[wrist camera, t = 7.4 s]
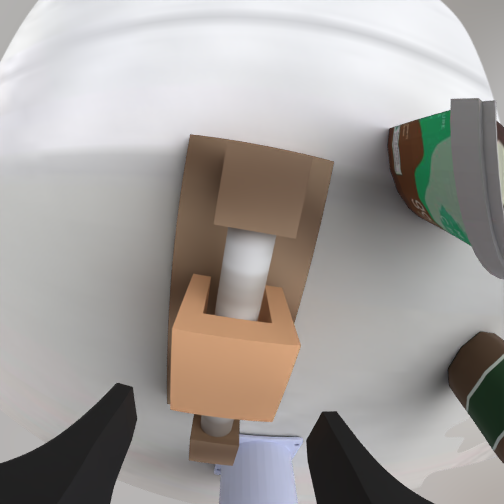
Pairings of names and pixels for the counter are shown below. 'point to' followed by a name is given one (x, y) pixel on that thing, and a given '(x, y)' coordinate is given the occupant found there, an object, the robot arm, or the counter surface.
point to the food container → (455, 175)
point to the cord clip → (231, 357)
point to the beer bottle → (482, 385)
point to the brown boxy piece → (243, 244)
